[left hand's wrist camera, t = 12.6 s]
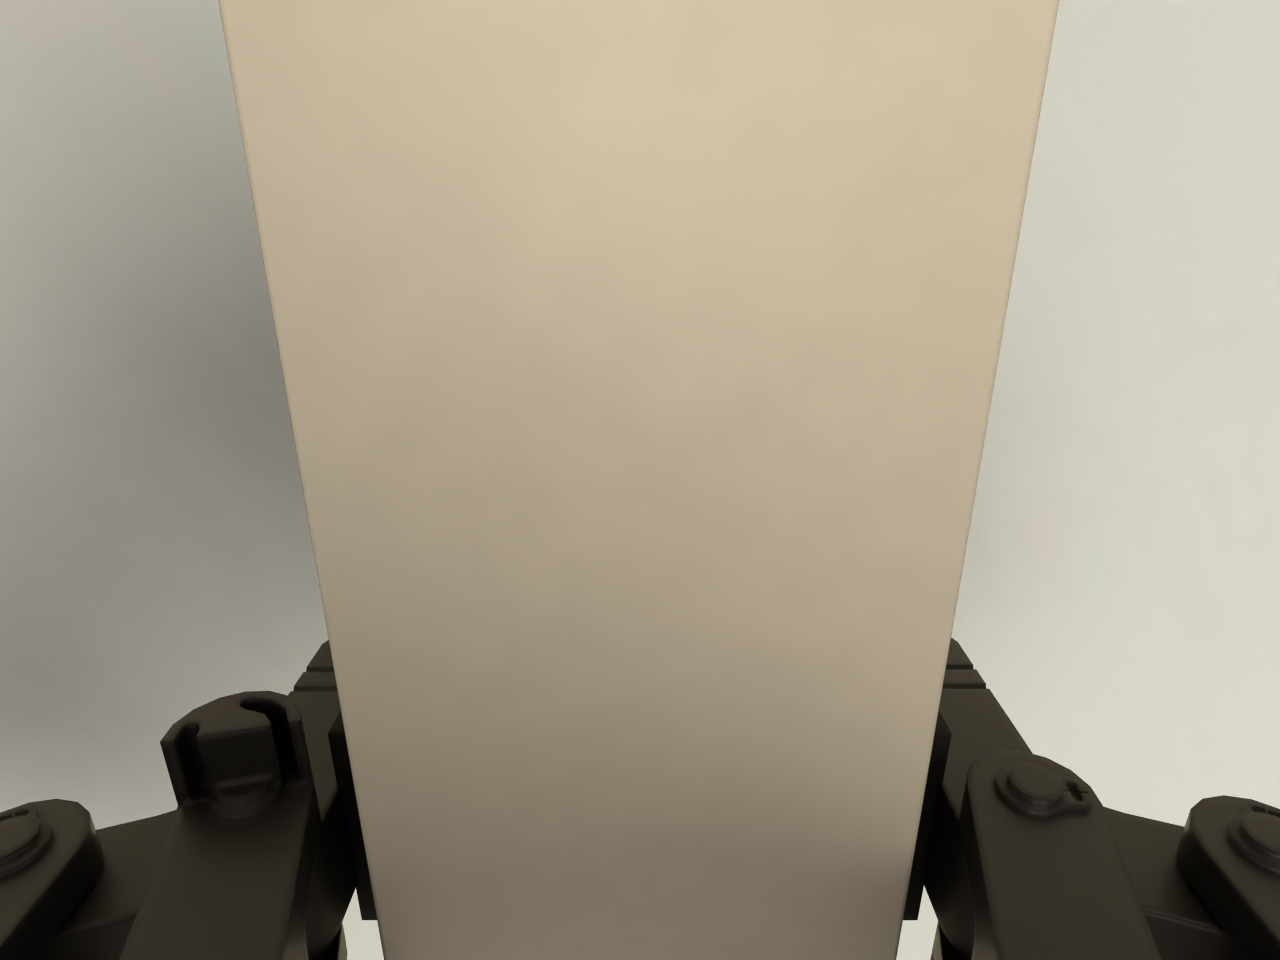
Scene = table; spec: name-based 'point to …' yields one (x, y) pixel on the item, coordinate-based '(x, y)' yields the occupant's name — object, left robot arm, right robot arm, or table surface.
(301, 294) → the bar
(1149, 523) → the table surface
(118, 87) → the table surface
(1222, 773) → the table surface
